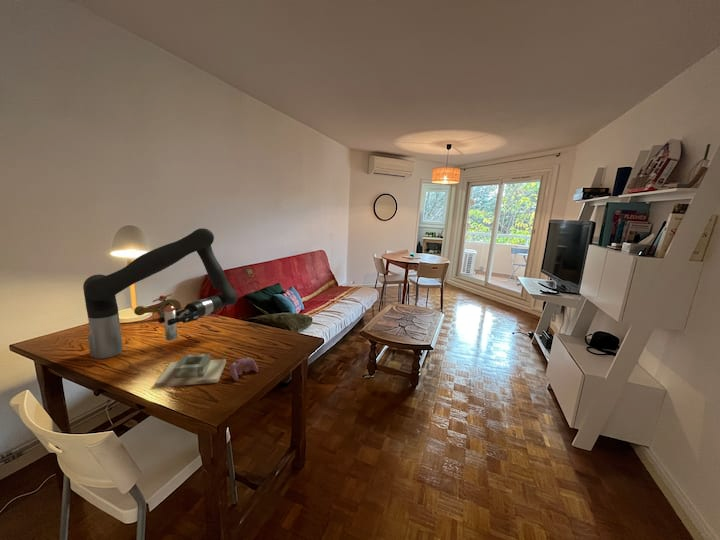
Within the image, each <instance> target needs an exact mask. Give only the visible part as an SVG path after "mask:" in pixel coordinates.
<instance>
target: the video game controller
mask: <svg viewBox="0 0 720 540" xmlns="http://www.w3.org/2000/svg"><path fill="white" fill-rule="evenodd" d="M242 367H243V368H242ZM228 368H229V369H228V370H229V372H230V376H231V377H232V378H233V380H234V381H235V382H237V381H238V380H239V376H241V375H242V374H243V372H244V373H248V372H250V370H251V368H252V369H253V371H254V372H255V373H258V372H259V368H258V365H257V364H256V361H255V360H254V359H253V358H252V357H243V358H239V359H237V360H235V361H234V362H232V363H231V364H230V365H229V367H228ZM242 369H243V370H242Z"/></svg>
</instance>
